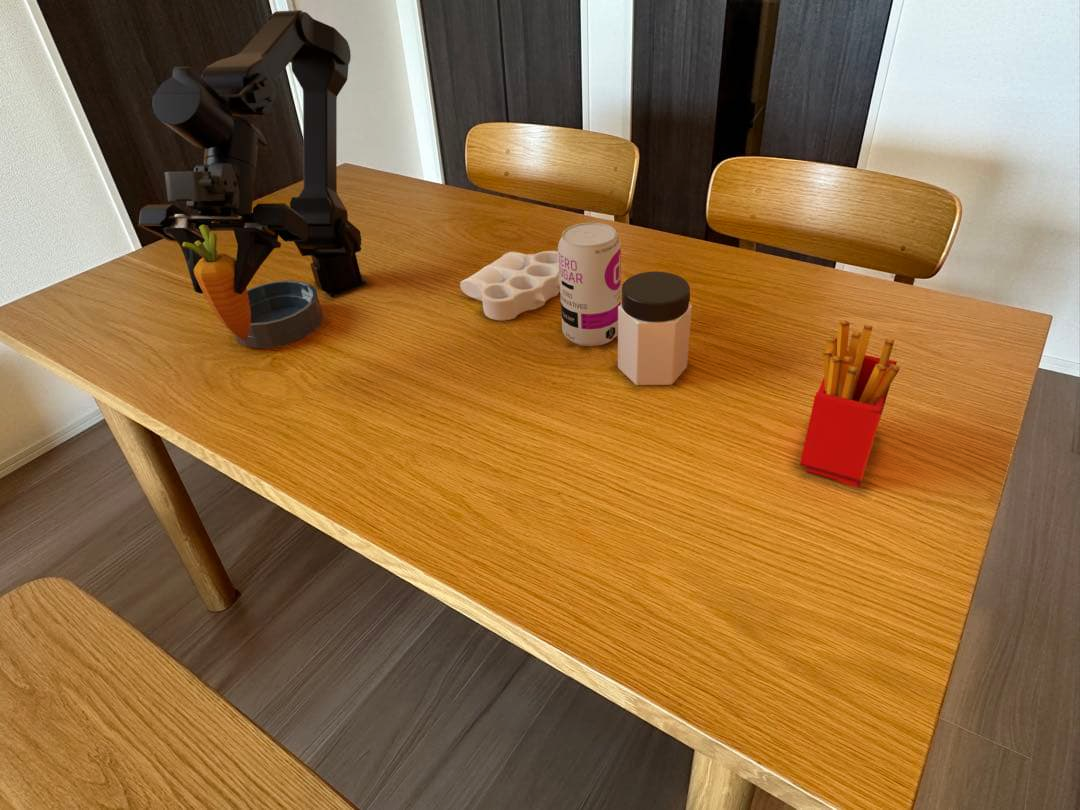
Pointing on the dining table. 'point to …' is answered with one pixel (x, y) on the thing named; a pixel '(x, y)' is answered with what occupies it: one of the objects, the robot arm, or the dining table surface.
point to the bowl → (282, 313)
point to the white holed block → (515, 284)
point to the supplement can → (590, 283)
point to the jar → (654, 328)
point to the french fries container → (847, 407)
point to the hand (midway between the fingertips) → (218, 293)
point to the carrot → (221, 285)
